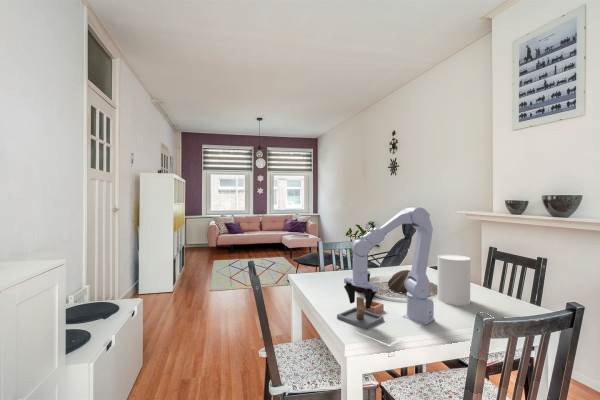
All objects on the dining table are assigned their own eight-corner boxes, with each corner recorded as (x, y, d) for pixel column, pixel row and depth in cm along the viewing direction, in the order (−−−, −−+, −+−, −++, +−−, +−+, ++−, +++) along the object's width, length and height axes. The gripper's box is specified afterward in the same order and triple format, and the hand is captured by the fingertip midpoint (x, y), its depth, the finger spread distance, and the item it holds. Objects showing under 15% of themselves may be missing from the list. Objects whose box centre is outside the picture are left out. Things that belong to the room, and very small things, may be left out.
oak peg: (365, 318, 117) (365, 298, 116) (360, 320, 115) (361, 299, 115) (359, 316, 119) (359, 296, 118) (355, 318, 117) (355, 297, 117)
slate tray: (383, 321, 116) (383, 316, 116) (365, 330, 108) (365, 325, 108) (355, 311, 126) (355, 307, 126) (337, 319, 118) (337, 314, 118)
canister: (433, 300, 138) (433, 257, 138) (442, 293, 148) (443, 253, 148) (465, 307, 129) (465, 261, 129) (473, 299, 139) (473, 256, 139)
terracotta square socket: (383, 311, 125) (383, 303, 125) (374, 316, 121) (374, 308, 121) (369, 307, 130) (369, 299, 130) (360, 311, 126) (360, 303, 126)
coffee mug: (370, 295, 146) (370, 274, 146) (352, 293, 148) (352, 273, 147) (370, 287, 157) (370, 268, 157) (353, 286, 159) (353, 268, 159)
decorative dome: (435, 289, 154) (435, 270, 154) (413, 298, 142) (413, 277, 142) (402, 281, 169) (402, 263, 169) (380, 288, 157) (380, 269, 157)
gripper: (339, 269, 119) (339, 302, 119) (369, 276, 108) (369, 313, 109) (350, 266, 124) (350, 298, 124) (380, 272, 113) (380, 308, 113)
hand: (360, 305), depth 117 cm, fingers open, 7 cm apart
